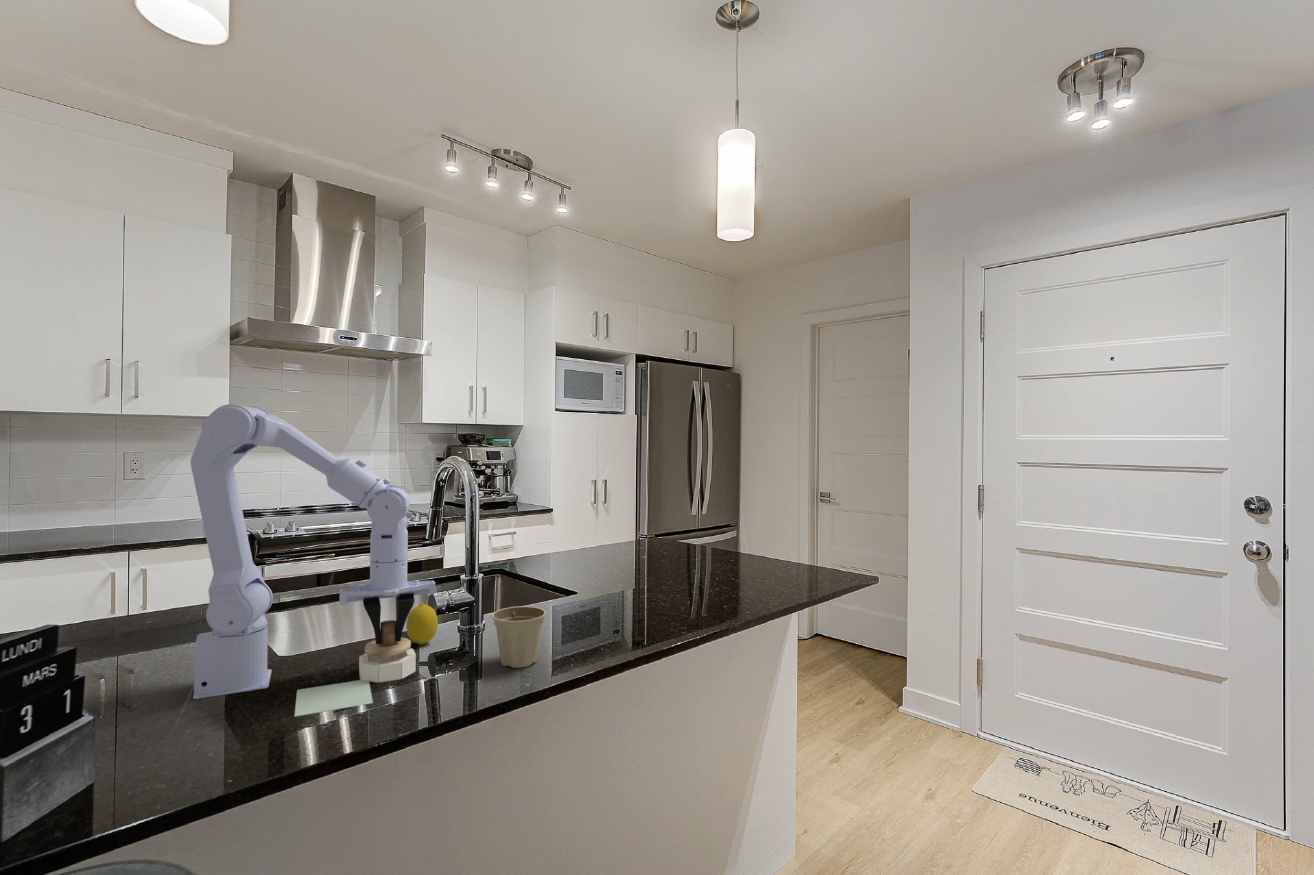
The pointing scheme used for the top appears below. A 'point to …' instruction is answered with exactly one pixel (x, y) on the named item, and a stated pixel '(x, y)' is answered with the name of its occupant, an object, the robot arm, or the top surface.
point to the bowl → (387, 666)
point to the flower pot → (518, 634)
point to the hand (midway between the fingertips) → (388, 641)
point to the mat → (332, 697)
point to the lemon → (422, 624)
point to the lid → (388, 642)
